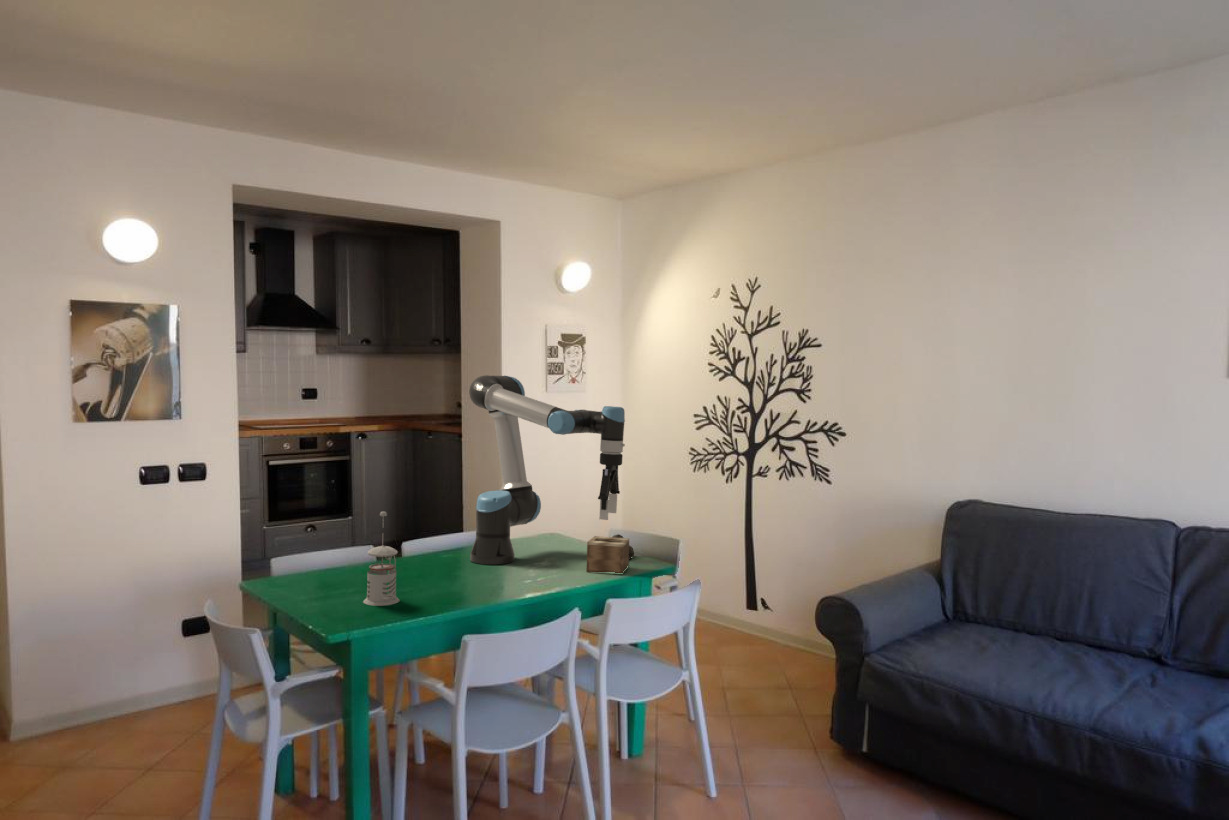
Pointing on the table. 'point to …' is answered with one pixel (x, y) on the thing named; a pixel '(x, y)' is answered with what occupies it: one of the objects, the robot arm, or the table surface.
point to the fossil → (631, 551)
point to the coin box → (607, 554)
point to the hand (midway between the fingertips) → (608, 516)
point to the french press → (381, 577)
